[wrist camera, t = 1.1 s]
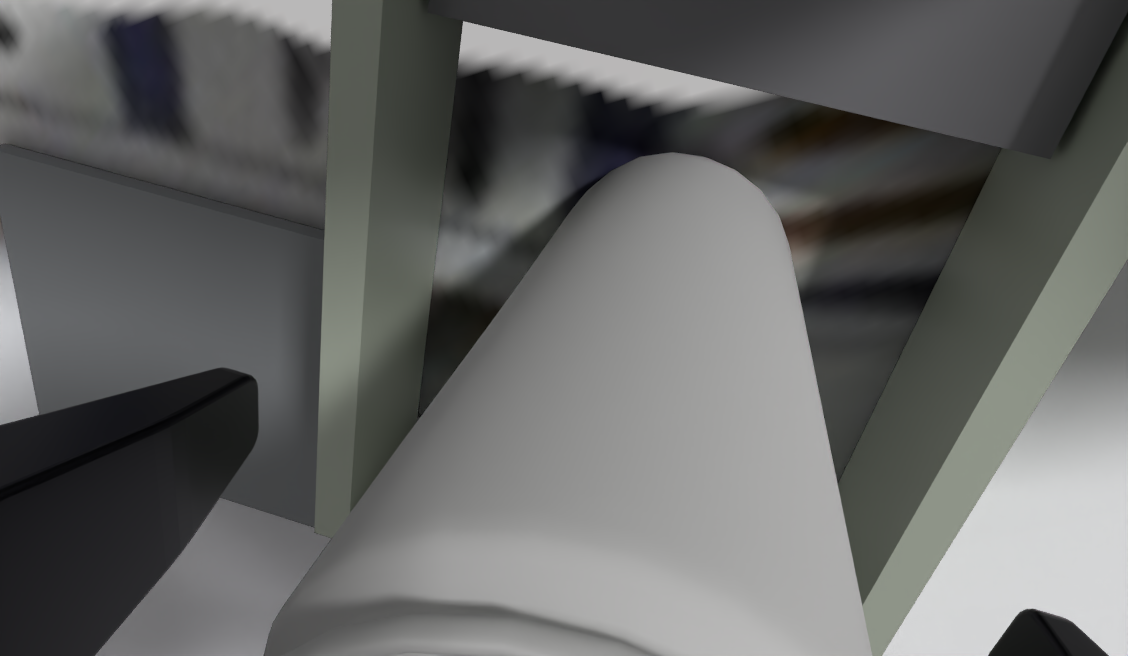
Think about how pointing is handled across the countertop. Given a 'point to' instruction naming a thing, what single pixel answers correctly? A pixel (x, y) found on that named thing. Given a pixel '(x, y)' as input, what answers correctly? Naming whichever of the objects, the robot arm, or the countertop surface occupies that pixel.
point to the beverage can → (611, 457)
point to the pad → (169, 305)
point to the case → (799, 71)
